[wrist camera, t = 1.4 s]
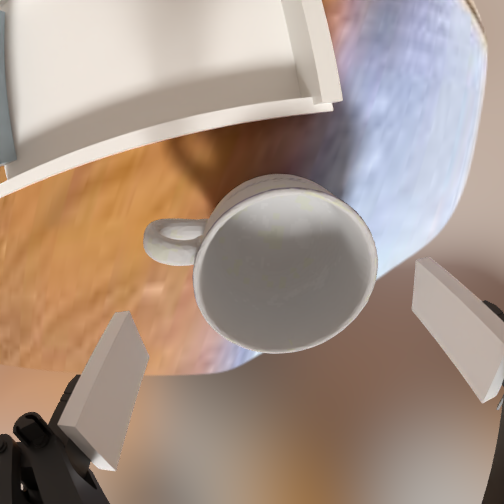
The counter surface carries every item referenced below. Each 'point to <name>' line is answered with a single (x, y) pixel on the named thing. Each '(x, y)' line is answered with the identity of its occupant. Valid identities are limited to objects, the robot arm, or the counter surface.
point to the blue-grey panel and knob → (4, 108)
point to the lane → (154, 73)
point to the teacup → (273, 263)
